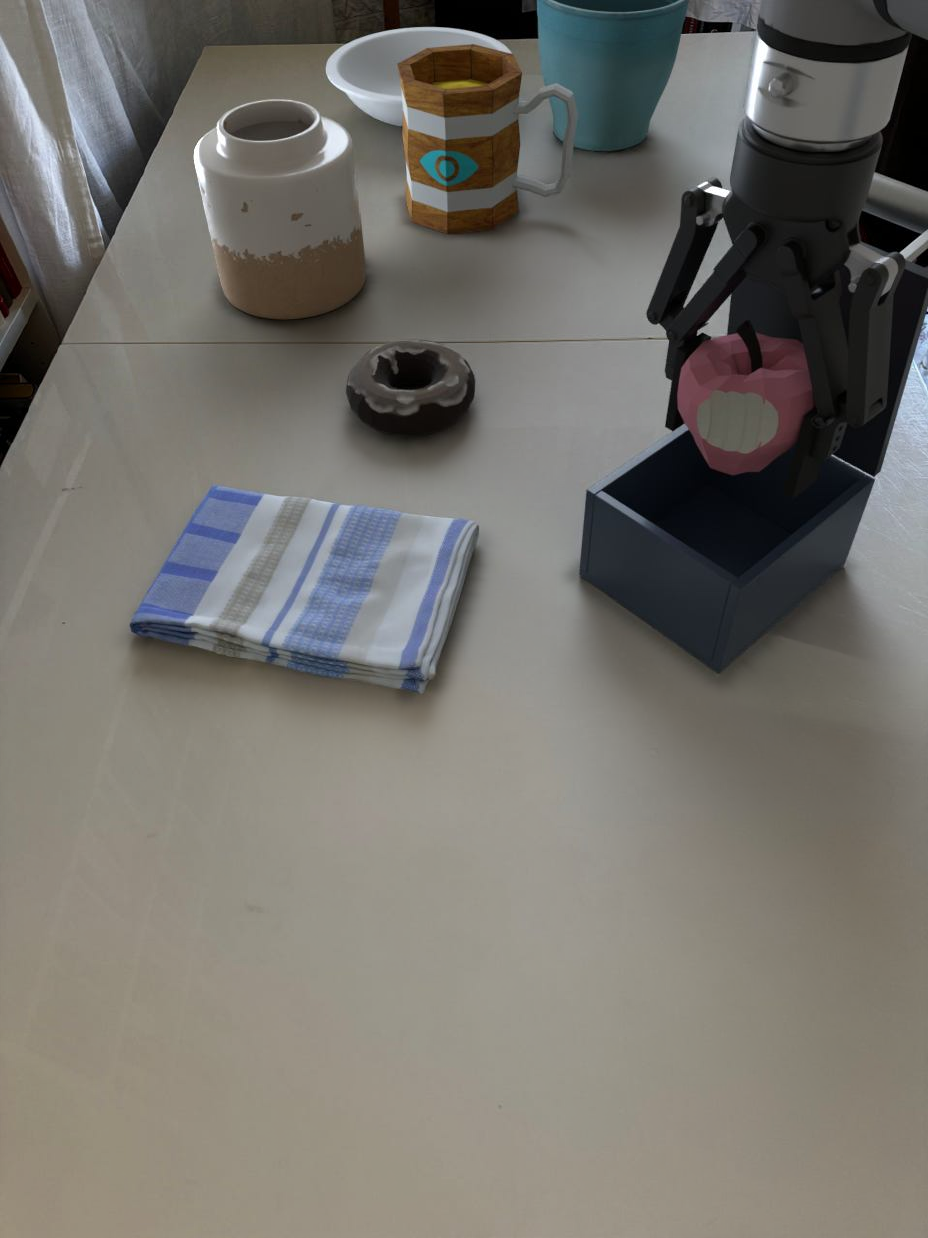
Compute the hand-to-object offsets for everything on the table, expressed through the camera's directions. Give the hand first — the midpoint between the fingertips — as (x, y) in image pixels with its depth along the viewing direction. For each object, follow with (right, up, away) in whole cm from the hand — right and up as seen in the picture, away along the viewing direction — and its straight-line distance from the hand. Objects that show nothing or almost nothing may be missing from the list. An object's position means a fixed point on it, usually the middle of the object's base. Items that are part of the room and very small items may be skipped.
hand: (738, 453), depth 72 cm
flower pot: (-1, +50, +60) cm, 79 cm away
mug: (-16, +36, +48) cm, 62 cm away
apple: (0, -1, +1) cm, 1 cm away
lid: (+4, +7, -2) cm, 9 cm away
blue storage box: (0, -8, +9) cm, 12 cm away
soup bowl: (-24, +55, +65) cm, 89 cm away
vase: (-37, +24, +38) cm, 58 cm away
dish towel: (-30, -9, +8) cm, 33 cm away
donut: (-24, +8, +24) cm, 35 cm away
